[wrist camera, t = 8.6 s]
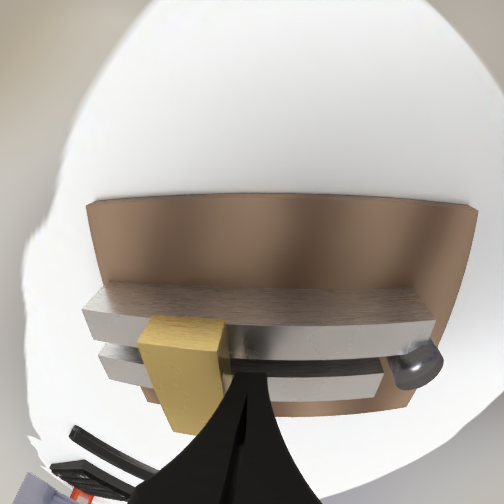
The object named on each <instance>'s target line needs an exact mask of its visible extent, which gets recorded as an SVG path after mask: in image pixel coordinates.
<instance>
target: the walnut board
mask: <svg viewBox="0 0 504 504" xmlns="http://www.w3.org/2000/svg"><path fill="white" fill-rule="evenodd" d="M86 210H87V216H88V221H89V226H90V231H91V236H92V241H93V245H94V250H95V254H96V258H97V262H98V266H99V270H100V274H101V278H102V281H103V285H105V284H106V283H107V282H108V281H120V282H134V283H151V284H169V285H189V286H213V287H244V288H298V289H353V288H405V287H414V289H415V290H416V291H417V293H418V294H419V296H420V297H421V298H422V300H423V301H424V303H425V304H426V305H427V307H428V308H429V310H430V311H431V313H432V314H433V316H434V317H435V319H436V322H435V325H434V327H433V330H432V333H431V335H430V336H431V337H432V339H433V341H434V343H435V344H436V346H437V347H438V344H439V342H440V340H441V337H442V335H443V333H444V330H445V328H446V325H447V323H448V320H449V317H450V315H451V312H452V309H453V307H454V304H455V301H456V298H457V295H458V292H459V289H460V286H461V282H462V279H463V276H464V272H465V269H466V265H467V261H468V258H469V254H470V250H471V245H472V241H473V236H474V232H475V227H476V222H477V216H478V210H476V209H474V208H472V207H471V206H468V205H460V204H452V203H443V202H433V201H423V200H412V199H400V198H386V197H371V196H353V195H330V194H290V193H236V194H197V195H173V196H155V197H139V198H126V199H113V200H102V201H95V202H93V203H91V204H89V205H86ZM379 359H380V362H381V365H382V368H383V371H384V375H383V377H382V380H381V382H380V385H379V387H378V389H377V391H376V394H375V396H374V397H371V398H361V399H350V400H334V401H308V402H278V401H271V405H272V409H273V412H274V415H275V417H314V416H335V415H348V414H359V413H368V412H376V411H384V410H391V409H397V408H403V407H406V406H407V405H408V403H409V401H410V400H411V398H412V396H413V394H414V393H415V391H416V389H414V390H401V389H399V388H398V387H397V386H396V384H395V381H394V379H393V376H392V373H391V370H390V367H389V365H388V362H387V359H386V356H384V357H379ZM141 389H142V391H143V393H144V395H145V397H146V399H147V402H151V403H156V404H160V402H159V400H158V397H157V395H156V393H155V390H154V389H153V388H147V387H142V386H141Z"/></svg>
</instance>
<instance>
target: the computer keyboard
mask: <svg viewBox="0 0 504 504" xmlns="http://www.w3.org/2000/svg"><path fill="white" fill-rule="evenodd" d="M50 469H51V470H52V473H53V474H55V475H56V476H59V477H60V478H61V479H62V480H64V481H66V482H67V483H69V484H70V485H72V486H74V487H76V488H77V489H78V490H81V491H83V492H84V493H85V494H88V495H93V496H97V497H102V498H108V499H113V500H120V501H126V502H128V500H129V498H130V496H131V494H132V492H133V491H134V489H135V487H133V486H131V485H129V484H127V483H125V482H123V481H121V480H119V479H117V478H115V477H114V476H112V475H110V474H108V473H106V472H105V471H103V470H101V469H99V468H98V467H96V466H94V465H93V464H91V463H89V462H88V461H86V460H80V461H73V462H65V463H56V464H51V466H50Z"/></svg>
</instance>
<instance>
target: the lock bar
mask: <svg viewBox="0 0 504 504" xmlns="http://www.w3.org/2000/svg"><path fill="white" fill-rule="evenodd" d="M136 343H137V346H138V348H139V351H140V354H141V357H142V360H143V362H144V365H145V368H146V370H147V373H148V375H149V378H150V380H151V383H152V385H153V388H154V390H155V393H156V395H157V397H158V400H159V402H160V404H161V406H162V409H163V411H164V413H165V415H166V417H167V420H168V422H169V424H170V426H171V428H172V430H173V432H178V433H183V434H189V435H195V436H197V435H198V433H199V432H200V431H201V430H202V429H203V427H204V426H205V425H206V423H207V422H208V420H209V419H210V418H211V416H212V415H213V413H214V412H215V410H216V409H217V407H218V406H219V404H220V402H221V401H222V399H223V397H224V396H225V394H226V392H227V390H228V388H229V386H230V384H231V382H232V375H231V366H230V357H229V348H228V338H227V328H226V319H208V318H193V317H180V316H168V315H157V314H153V316H152V318H151V319H150V321H149V322H148V324H147V326H146V327H145V329H144V331H143V332H142V334H141V335H140V337H139V339H138V340H137V342H136Z"/></svg>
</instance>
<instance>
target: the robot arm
mask: <svg viewBox="0 0 504 504" xmlns="http://www.w3.org/2000/svg"><path fill="white" fill-rule="evenodd" d="M267 376H268V375H267V374H266V373H256V372H236V373H235V374H234V377H233V380H232V382H231V384H230V386H229V388H228V390H227V392H226V394H225V396H224V397H223V399H222V401H221V402H220V404H219V406H218V407H217V409H216V410H215V412H214V413H213V415H212V416H211V418H210V419H209V420H208V422H207V423H206V425H205V426H204V427H203V429H202V430H201V431H200V432H199V433H198V435H197V436H196V437H195V438H194V439H193V440H192V441H191V443H190V444H189V445H188V446H187V447H186V448H185V449H184V450H183V451H182V452H181V453H180V454H179V455H178V456H176V457H175V458H174V459H173V460H172V461H171V462H169V463H168V464H167V465H166V466H165V467H163V468H162V469H161V470H160V471H158V472H157V473H155V474H154V475H153V476H151V477H150V478H148V479H146V480H145V481H143V482H142V483H140V484H139V485H137V486H136V487H135V489H134V491H133V492H132V494H131V496H130V498H129V500H128V503H127V504H322V503H321V502H320V500H319V499H318V498H317V496H316V495H315V494H314V492H313V491H312V490H311V488H310V487H309V485H308V484H307V482H306V481H305V479H304V478H303V476H302V474H301V473H300V471H299V469H298V468H297V466H296V464H295V463H294V461H293V459H292V457H291V455H290V453H289V451H288V449H287V447H286V444H285V442H284V440H283V438H282V435H281V433H280V430H279V427H278V425H277V422H276V419H275V415H274V412H273V409H272V405H271V401H270V396H269V391H268V382H267ZM13 504H81V503H79V502H77V501H75V500H73V499H71V498H70V497H68V496H66V495H64V494H62V493H61V492H59V491H57V490H55V488H53V487H52V486H50V485H49V484H48V483H46V482H44V481H43V480H41V479H40V478H38V477H37V476H35V475H33V474H32V473H31V472H28V473H27V475H26V477H25V479H24V481H23V483H22V485H21V487H20V489H19V491H18V493H17V495H16V497H15V499H14V502H13Z"/></svg>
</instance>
